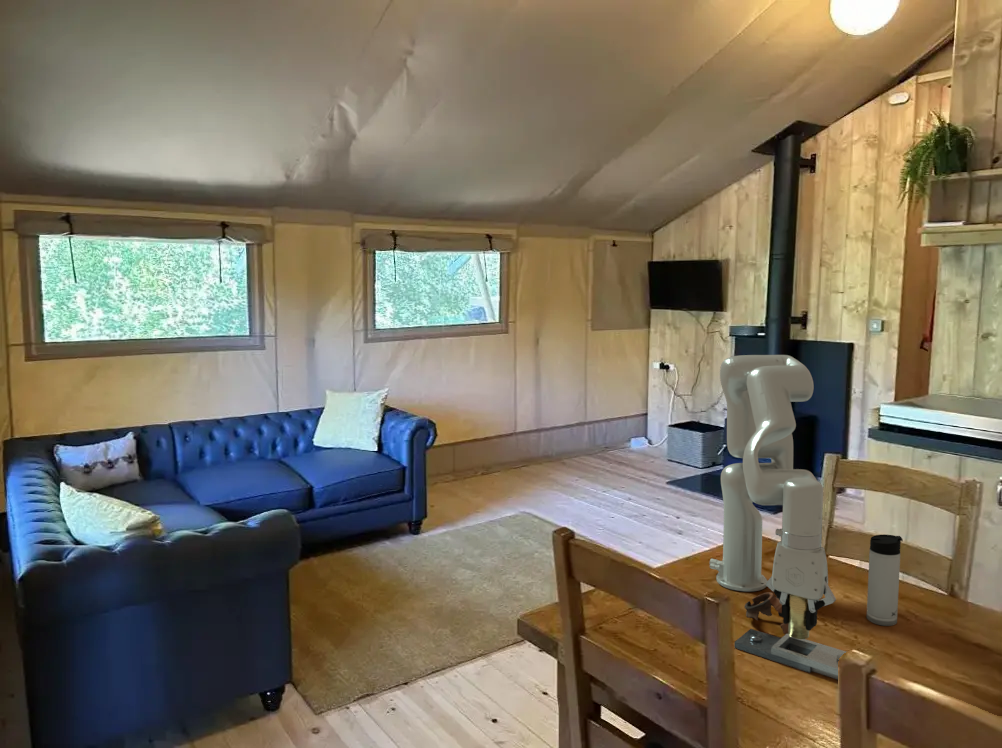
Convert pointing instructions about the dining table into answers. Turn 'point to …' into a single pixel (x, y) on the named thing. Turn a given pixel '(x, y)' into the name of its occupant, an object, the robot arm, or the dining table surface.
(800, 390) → the robot arm
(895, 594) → the travel mug
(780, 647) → the grey plate with socket
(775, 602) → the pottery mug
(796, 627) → the pin
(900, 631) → the dining table surface
